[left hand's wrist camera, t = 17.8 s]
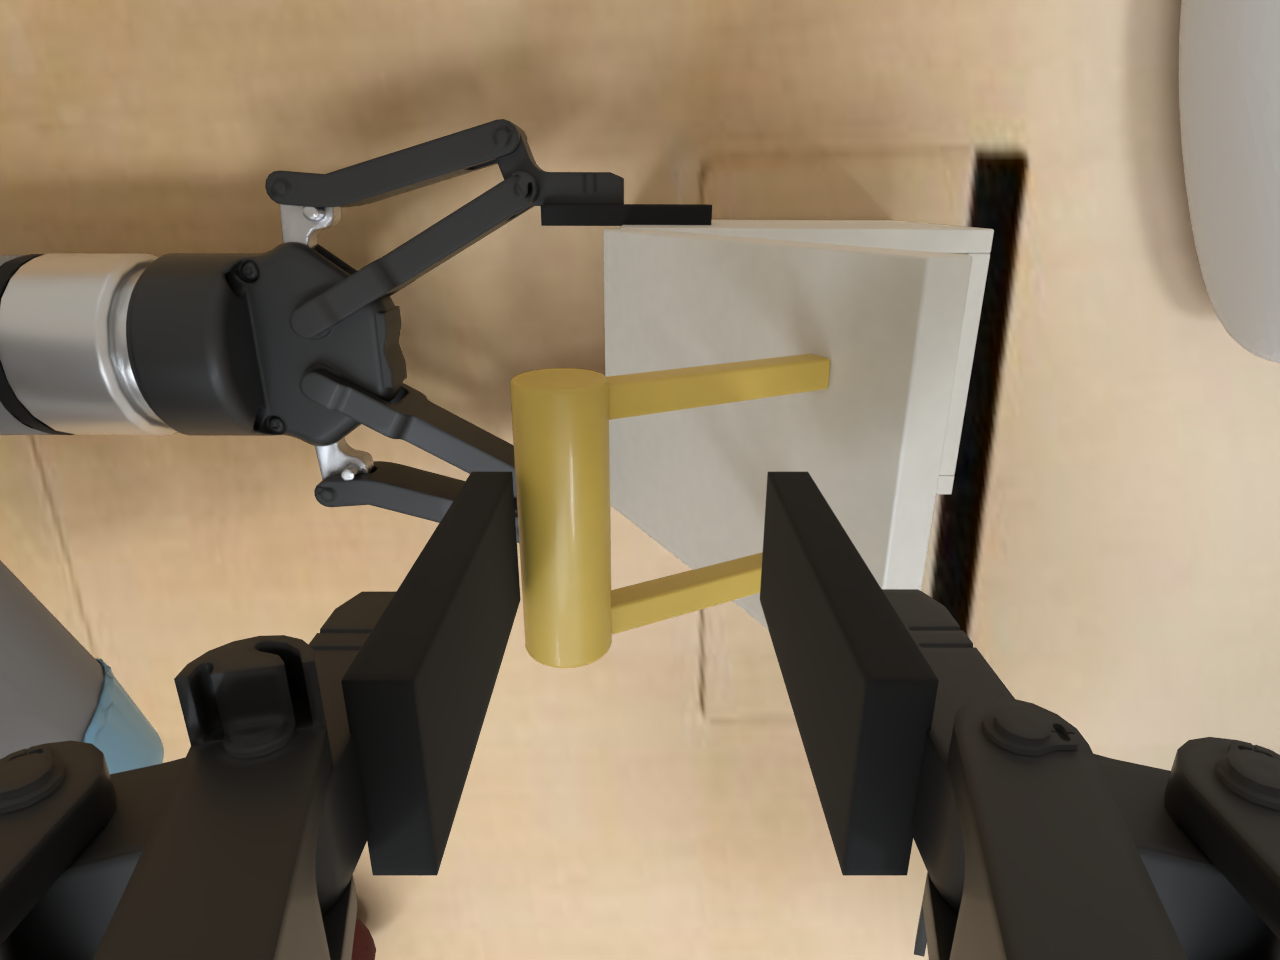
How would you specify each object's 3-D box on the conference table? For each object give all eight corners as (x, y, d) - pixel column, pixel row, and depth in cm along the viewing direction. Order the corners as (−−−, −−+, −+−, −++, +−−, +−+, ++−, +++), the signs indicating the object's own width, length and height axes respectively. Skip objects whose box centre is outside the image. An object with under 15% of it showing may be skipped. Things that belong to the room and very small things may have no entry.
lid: (975, 254, 14) (564, 274, 10) (907, 693, 18) (582, 822, 14) (635, 228, 26) (382, 232, 22) (634, 497, 29) (416, 540, 25)
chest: (894, 220, 36) (994, 229, 26) (871, 418, 40) (951, 494, 29) (624, 219, 36) (619, 227, 26) (625, 417, 40) (621, 494, 29)
